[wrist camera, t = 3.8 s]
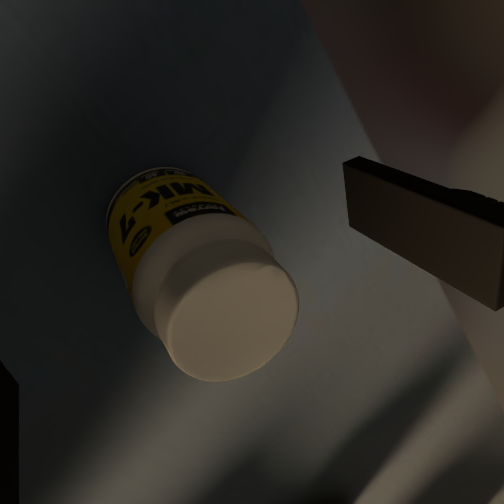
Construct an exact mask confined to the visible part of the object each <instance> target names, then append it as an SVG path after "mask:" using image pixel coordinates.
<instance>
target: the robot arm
mask: <svg viewBox="0 0 504 504" xmlns="http://www.w3.org/2000/svg"><path fill="white" fill-rule="evenodd" d="M343 172H344V181H345V190H346V199H347V208H348V218H349V226H350V227H352V228H353V229H355V230H357V231H358V232H360V233H362V234H364V235H365V236H367V237H369V238H370V239H372V240H374V241H376V242H377V243H379V244H381V245H382V246H384V247H386V248H388V249H389V250H391V251H393V252H394V253H396V254H398V255H400V256H401V257H403V258H405V259H406V260H408V261H410V262H412V263H413V264H415V265H417V266H418V267H420V268H422V269H424V270H425V271H427V272H429V273H430V274H432V275H434V276H436V277H437V278H439V279H441V280H443V281H444V282H446V283H448V284H450V285H451V286H453V287H455V288H456V289H458V290H460V291H461V292H463V293H465V294H466V295H468V296H470V297H472V298H473V299H475V300H477V301H479V302H480V303H482V304H484V305H485V306H487V307H489V308H491V309H492V310H494V311H497V310H499V309H501V308H502V307H504V202H501V201H500V202H498V201H497V200H495V199H493V198H489V197H487V198H486V197H485V196H484V195H481V194H478V193H475V192H472V191H468V190H460V189H450V188H447V187H444V186H441V185H438V184H436V183H433V182H430V181H427V180H425V179H421V178H419V177H416V176H414V175H411V174H408V173H405V172H402V171H400V170H397V169H394V168H391V167H389V166H386V165H383V164H380V163H378V162H375V161H372V160H369V159H366V158H364V157H361V156H358V157H355V158H353V159H351V160H348V161H346V162H344V163H343ZM0 504H19V384H18V383H17V381H16V380H15V379H14V378H13V376H12V375H11V374H10V372H9V371H8V370H7V369H6V367H5V366H4V365H3V363H2V362H1V361H0Z"/></svg>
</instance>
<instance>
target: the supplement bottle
mask: <svg viewBox="0 0 504 504" xmlns="http://www.w3.org/2000/svg"><path fill="white" fill-rule="evenodd" d="M106 231H107V236H108V240H109V243H110V246H111V248H112V250H113V253H114V256H115V258H116V261H117V264H118V266H119V269H120V271H121V274H122V276H123V279H124V282H125V284H126V287H127V289H128V292H129V295H130V297H131V300H132V303H133V305H134V308H135V310H136V313H137V315H138V316H139V318H140V320H141V321H142V323H143V324H144V326H145V327H146V328H147V329H148V330H149V331H150V332H151V333H152V334H153V335H154V336H156V337H157V338H159V339H160V340H162V342H163V343H164V345H165V347H166V349H167V351H168V353H169V355H170V357H171V358H172V360H173V362H174V363H175V364H176V365H177V367H178V368H179V369H181V370H182V371H183V372H184V373H186V374H188V375H189V376H191V377H193V378H196V379H199V380H203V381H208V382H222V381H229V380H233V379H236V378H240V377H242V376H245V375H247V374H250V373H252V372H253V371H255V370H257V369H258V368H260V367H261V366H263V365H264V364H266V363H267V362H268V361H269V360H270V359H272V358H273V357H274V356H275V355H276V354H277V353H278V352H279V351H280V349H281V348H282V347H283V345H284V344H285V343H286V341H287V340H288V338H289V337H290V335H291V332H292V330H293V328H294V326H295V323H296V320H297V316H298V311H299V297H298V292H297V288H296V286H295V283H294V281H293V279H292V278H291V276H290V275H289V274H288V273H287V272H286V271H285V270H284V269H283V267H282V266H281V265H280V264H279V263H278V262H277V261H276V260H275V259H274V255H273V252H272V249H271V247H270V244H269V243H268V241H267V239H266V238H265V236H264V235H263V234H262V232H261V231H260V230H259V229H258V228H257V227H256V226H255V225H254V224H252V223H251V222H250V221H249V220H248V219H246V218H245V217H244V216H243V215H242V214H241V213H239V212H238V211H237V210H236V209H235V208H233V207H232V206H231V205H230V204H229V203H228V202H226V201H225V200H224V199H223V198H222V197H221V196H220V195H218V194H217V193H216V192H215V191H213V190H212V189H211V188H210V187H209V186H208V185H206V184H205V183H204V182H203V181H202V180H201V179H199V178H198V177H196V176H195V175H193V174H191V173H189V172H187V171H184V170H181V169H178V168H173V167H157V168H152V169H148V170H145V171H143V172H140V173H138V174H137V175H135V176H133V177H132V178H130V179H129V180H128V181H126V182H125V183H124V184H123V185H122V186H121V187H120V188H119V189H118V191H117V192H116V193H115V195H114V196H113V198H112V200H111V202H110V204H109V207H108V211H107V216H106Z"/></svg>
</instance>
